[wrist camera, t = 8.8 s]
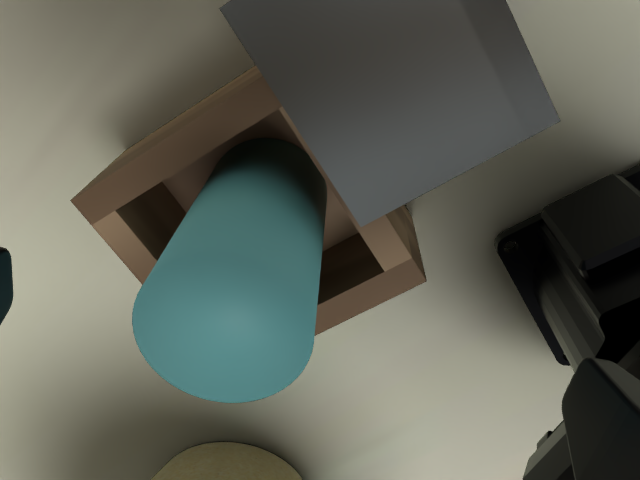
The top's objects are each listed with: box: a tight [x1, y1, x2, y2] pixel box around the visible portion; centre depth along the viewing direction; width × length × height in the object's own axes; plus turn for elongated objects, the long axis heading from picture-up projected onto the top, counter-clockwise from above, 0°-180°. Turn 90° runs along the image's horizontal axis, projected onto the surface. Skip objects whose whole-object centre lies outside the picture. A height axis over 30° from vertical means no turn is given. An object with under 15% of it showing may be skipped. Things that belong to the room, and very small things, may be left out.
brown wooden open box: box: [70, 0, 560, 336], centre depth 17 cm, size 9×12×6 cm
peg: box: [132, 138, 327, 403], centre depth 16 cm, size 4×4×8 cm
